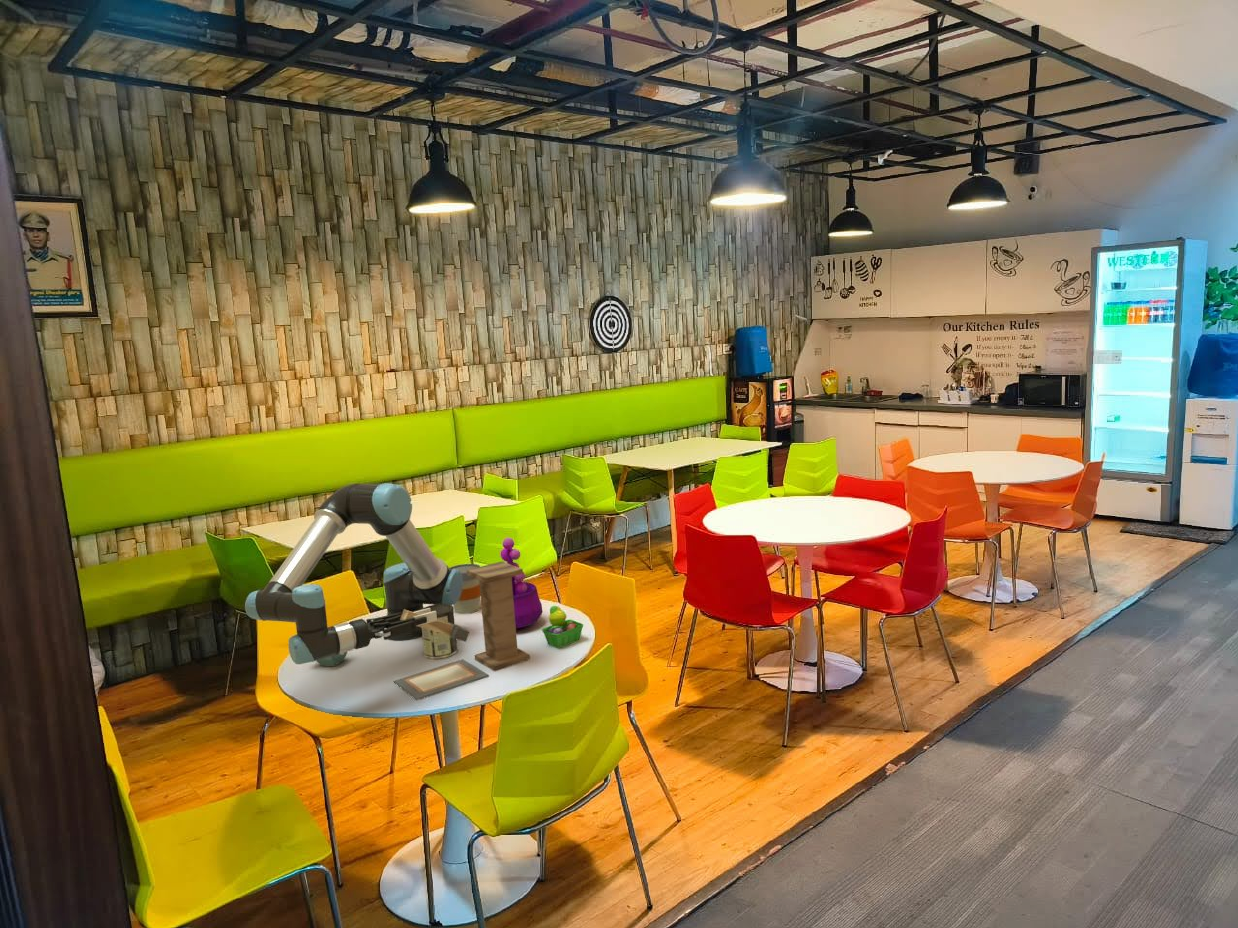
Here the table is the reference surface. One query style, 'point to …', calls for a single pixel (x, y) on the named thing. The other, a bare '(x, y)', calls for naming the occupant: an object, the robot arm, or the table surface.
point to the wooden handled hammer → (440, 626)
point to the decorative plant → (521, 590)
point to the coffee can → (439, 635)
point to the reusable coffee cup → (468, 591)
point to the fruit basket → (561, 629)
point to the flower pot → (332, 660)
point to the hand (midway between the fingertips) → (433, 614)
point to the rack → (498, 615)
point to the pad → (440, 679)
